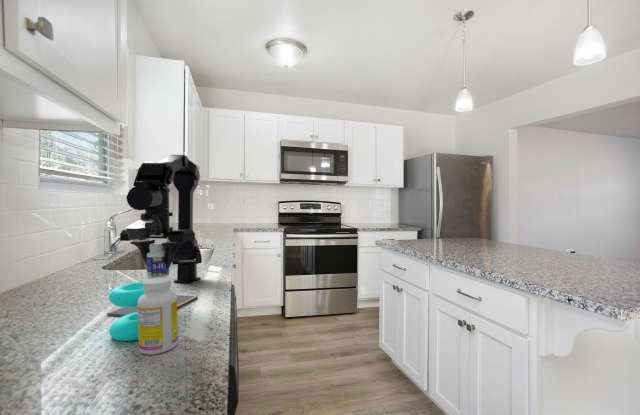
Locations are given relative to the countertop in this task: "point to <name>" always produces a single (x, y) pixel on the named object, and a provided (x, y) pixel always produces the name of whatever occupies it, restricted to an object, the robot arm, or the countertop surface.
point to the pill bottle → (156, 262)
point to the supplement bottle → (157, 317)
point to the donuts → (128, 324)
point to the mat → (124, 311)
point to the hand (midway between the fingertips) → (158, 267)
